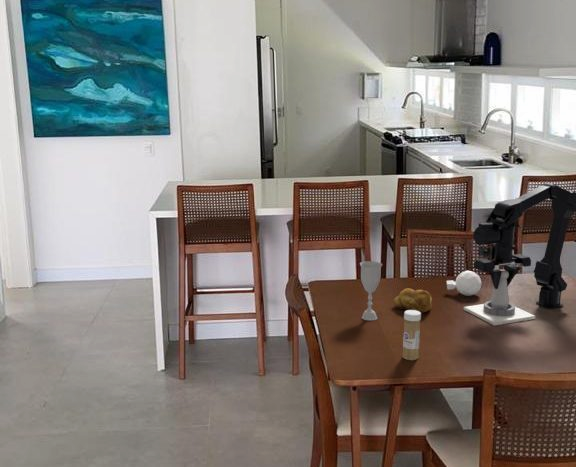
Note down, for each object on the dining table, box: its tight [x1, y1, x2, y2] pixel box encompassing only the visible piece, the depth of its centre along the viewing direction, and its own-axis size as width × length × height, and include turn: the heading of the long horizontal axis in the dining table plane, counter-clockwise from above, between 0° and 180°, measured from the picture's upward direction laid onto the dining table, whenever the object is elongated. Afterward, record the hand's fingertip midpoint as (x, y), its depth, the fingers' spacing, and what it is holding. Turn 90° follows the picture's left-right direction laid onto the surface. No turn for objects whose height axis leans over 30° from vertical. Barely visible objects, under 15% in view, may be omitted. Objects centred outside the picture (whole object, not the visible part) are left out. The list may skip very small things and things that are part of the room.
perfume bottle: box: [446, 270, 482, 297], centre depth 256 cm, size 9×9×12 cm
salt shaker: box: [490, 269, 510, 309], centre depth 235 cm, size 6×6×13 cm
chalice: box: [359, 260, 383, 321], centre depth 231 cm, size 7×7×18 cm
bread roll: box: [393, 287, 433, 314], centre depth 241 cm, size 13×10×8 cm
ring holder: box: [463, 300, 536, 326], centre depth 236 cm, size 16×16×3 cm
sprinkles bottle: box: [402, 309, 422, 361], centre depth 200 cm, size 5×5×13 cm
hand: (500, 288), depth 235 cm, fingers closed on salt shaker, 4 cm apart
